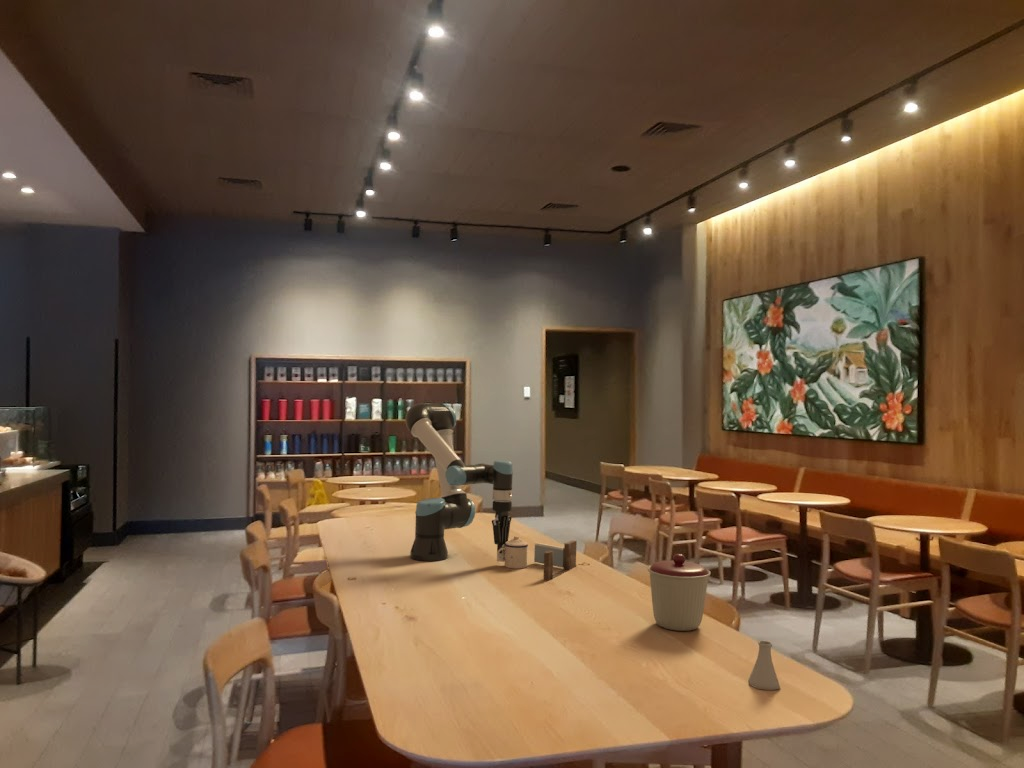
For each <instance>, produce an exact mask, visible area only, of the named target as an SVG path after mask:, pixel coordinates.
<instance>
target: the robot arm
mask: <svg viewBox="0 0 1024 768" xmlns="http://www.w3.org/2000/svg"><path fill="white" fill-rule="evenodd" d="M404 421H405V425H406V428H407V430H408V432H409V433H410V434H411V435H412V436H413V437H414V438H418V440H419V441H420V442H421V444H423V446H424V447H425V448H426V449H427V451H428V452H429V453H430V454H431V455H432V457H433V458H434V460H435V467H436V471H437V475H438V477H437V478H438V481H439V485H440V486H439V487H440V493H441V495H440V496H439V497H430V498H428V497H427V498H424V499H421V500H419V501H418V502H417V503H416V507H415V512H414V513H415V526H414V528H415V530H414V532H415V534H414V540H413V544H412V546H411V549H410V552H409V557H410V559H412V560H416V561H423V562H434V561H435V562H437V561H442V560H443V561H444V560H447V559H448V556H449V554H448V553H449V552H448V547H447V544H446V541H445V530H451V529H462V528H465V527H468V526H469V525H471V524H472V522H473V521H474V519H475V516H476V505H475V503H474V501H472V499H470V498H468V495H467V492H466V491H464V490H463V489H462V486H466V485H477V484H478V485H479V484H481V485H482V484H488V485H489V484H491V485H492V500H493V501H492V511H493V512H495V515H494V519H492V520H491V524H492V530H493V531H492V532H493V542H494V543H493V544H494V545H496V553H497V552H498V550H499V549H500V548H505V542H507V541H509V538H510V537H509V536H510V531H511V530H510V529H511V523H512V522H511V521H512V516H510V515H509V512H511V511H512V508H513V502H512V501H511V500H513V475H514V470H513V469H514V468H513V463H512V461H510V460H494V462H493V464H487V463H475V464H470V465H469V464H466V463H465V462H463V460H462V459H461V458H460V457H459V455H457V454H456V452H455V449H454V446H453V440H452V435H453V433H454V429H455V427H456V425H457V414H456V412H455V409H454V408H453V407H452V406H451V405H449V404H447V403H439V402H438V403H422V402H421V403H416V404H413V405H412V406H410V407H409V409H407V412H406V414H405V420H404ZM499 554H500V557H501V558H502V559H505V550H501V551H500V553H499ZM496 562H500V563H505V561H502V560H500V559H499V558H498V555H497V554H496Z"/></svg>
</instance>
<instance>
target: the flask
mask: <svg viewBox="0 0 1024 768" xmlns="http://www.w3.org/2000/svg"><path fill="white" fill-rule="evenodd" d="M757 643H758V646H759V647H758V652H757V653H758V654H757V658H756V660H755V663H754V665H753V668H752V670H751V673H750V674H749V677H748V685H750V686H752V687H754V688H755V689H758V690H765V691H773V690H780V689H781V686H780V683H779V680H778V677H777V673H776V669H775V667H774V663H773V658H772V647H773V643H772V642H771V641H769V640H764V639H763V640H758V641H757Z"/></svg>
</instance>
